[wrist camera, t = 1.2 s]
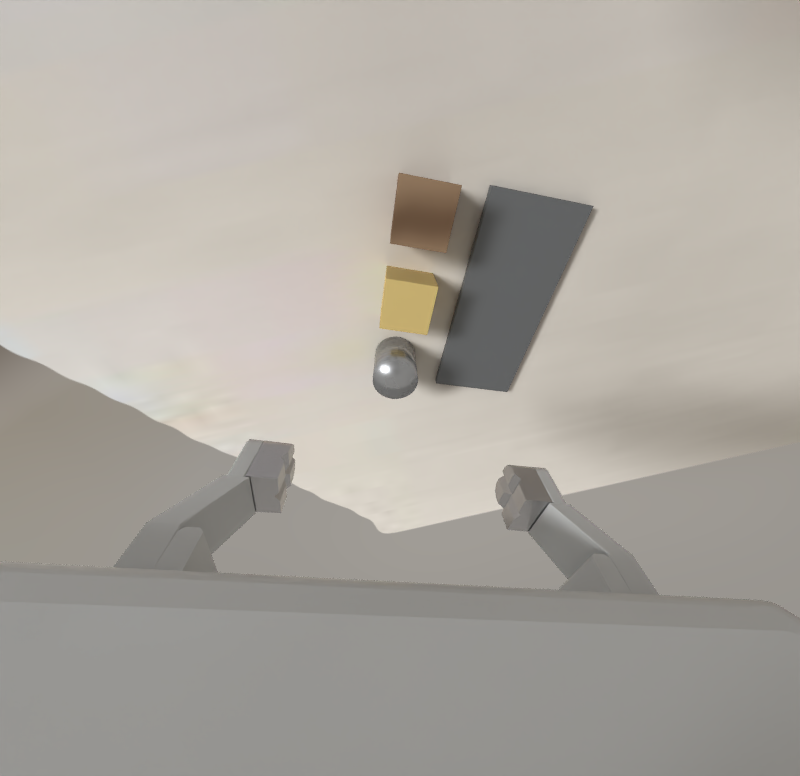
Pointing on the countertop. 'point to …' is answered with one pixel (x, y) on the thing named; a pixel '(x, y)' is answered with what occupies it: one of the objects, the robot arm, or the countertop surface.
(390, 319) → the mustard block
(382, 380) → the metal canister
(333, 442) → the countertop surface
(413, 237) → the walnut block
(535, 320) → the rubber mat
